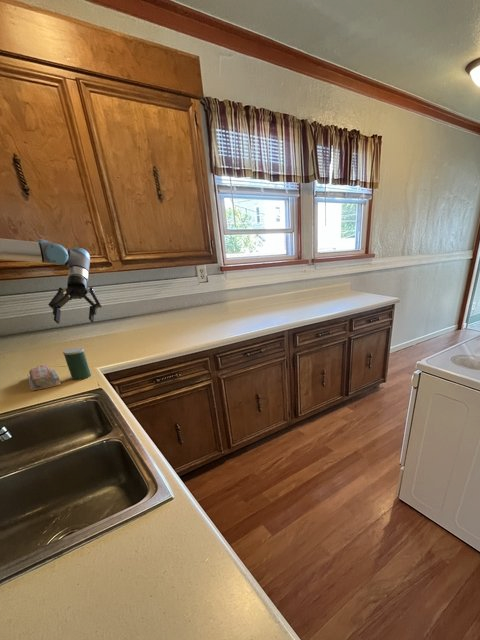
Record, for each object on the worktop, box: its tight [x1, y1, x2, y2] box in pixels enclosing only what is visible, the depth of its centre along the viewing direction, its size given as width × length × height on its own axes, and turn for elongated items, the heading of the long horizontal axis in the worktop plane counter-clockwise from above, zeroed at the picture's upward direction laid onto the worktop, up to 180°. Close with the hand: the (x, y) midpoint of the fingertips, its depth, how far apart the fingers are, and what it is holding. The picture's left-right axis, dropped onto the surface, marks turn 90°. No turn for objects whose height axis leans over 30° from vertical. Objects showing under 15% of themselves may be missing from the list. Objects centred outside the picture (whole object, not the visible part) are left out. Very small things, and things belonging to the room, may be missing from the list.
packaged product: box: [26, 364, 62, 392], centre depth 134 cm, size 18×5×10 cm
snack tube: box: [62, 347, 92, 381], centre depth 137 cm, size 7×7×12 cm
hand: (74, 321), depth 140 cm, fingers open, 13 cm apart
